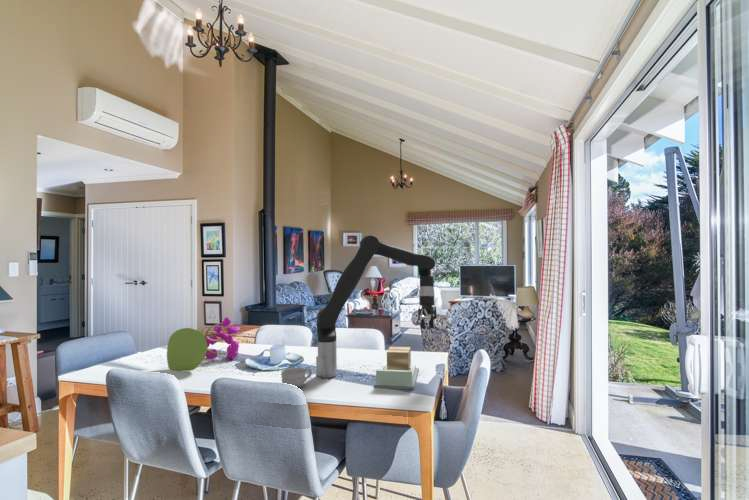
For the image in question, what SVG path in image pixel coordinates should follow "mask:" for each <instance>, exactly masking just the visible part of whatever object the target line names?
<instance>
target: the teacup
mask: <svg viewBox="0 0 749 500" xmlns="http://www.w3.org/2000/svg"><path fill="white" fill-rule="evenodd" d="M307 371H308V375H307V376H306V374H307ZM280 373H281V384H282V383H287V384H292V385H295V386H297V387H299V388H298V389H300V388H301V387H302V386H303V385H304V384H305V382H306V381H307V380H308V379H309V378H310V377H311V376H312V375H313V374H312V373H313V371H312V369H311V368H310V367H309V368H305V367H288V368H284V369H282V370H280Z"/></svg>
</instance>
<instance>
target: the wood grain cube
mask: <svg viewBox="0 0 749 500" xmlns="http://www.w3.org/2000/svg"><path fill="white" fill-rule="evenodd" d="M411 349H412V348H411V346H392V345H391V346H389V348H388V349H387V351H386V365H387V370H410V368H411V367H412V365H411V363H412V360H411V359H412V357H411V356H412V354H411V352H412V351H411Z"/></svg>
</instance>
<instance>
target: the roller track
mask: <svg viewBox="0 0 749 500" xmlns="http://www.w3.org/2000/svg"><path fill="white" fill-rule="evenodd" d="M419 370H420V367H416V364H412V365H411V367H410V370H387V364H386V366H383V367H382V369H381V368H379V369H378V368H377V369H376V370H375V373H376V374H375V379H376V380H375V383H374V384H373V388H376V389H395V390H415V388H416V387H415V386H416V384H417V379H418V375H419Z"/></svg>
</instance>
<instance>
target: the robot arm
mask: <svg viewBox="0 0 749 500" xmlns="http://www.w3.org/2000/svg"><path fill="white" fill-rule="evenodd" d="M374 255H377V256H382V257H385V258H388V259H390V260H393V261H396V262H397V263H398V262H399V263H402V264H404V265H407V266H411V267H414V266H415V267H417V271H418V276H419V292H418V294H419V295H418V297H419V302H418V303H419V304H418V305H419V306H421V308H420V307H419V308H418V309H417V320H418V321H419V322H420V329H421V330H422V329H424V330H425V329H426V319H427V318H428V328H429V329H434V321H435V320H436V319H437V306H434V305H435V289H434V288H435V286H434V282H435V281H434V276H433V275H432V270H433V269H434V268H435V266H436V260H435V259H434V258H433V257H431V256H429V255H427V254H420V253H415V252H413V251H410V250H408V249H404V248H401V247H397V246H392V245H389V244H386V243H383V242H382V241H380V239H379V238H378V237H377V236H375V235H373V234H368V235H366V236H364V237H362V238H361V240H360V241H359V248H358V250H357V252H356V253H355V256H354V257H353V258H352V260H351V261H350V262H349V263H348V265H347V266H346V267H345V268H344V270H343V272H342V273H341V274H340V276H339V278H338V280H337V282H336V284H335V287H334V289H333V292H332V295H331V297H330V299H329V301H328V302H327V304H325V307H322V308H321V309H320V310H319V311H318V312H317V314H316V332H317V333H316V335H317V336H316V337H317V356H316V357H315V359H316V360H315V361H316V362H315V365H316V366H315V371H316V375H315V376H316V377H319V378H321V379H330V378H335V377H337V376H338V371H337V370H338V367H337V366H338V365H337V362H338V361H337V360H338V358H337V351H338V350H337V330H336V323H337V321H338V318H339V317H340V314H341V312H342V310H343V308H344V306H345V304H347V301H348V300H349V298H350V297H351V295H352V294H353V292H354V291H355V289H356V287H357V286H358V283H359V282H360V281H361V278H362V276H363V274H364V272H365V271H366V267H367V266H368V264H369V263H370V261H371V259H372V258H373V257H374Z"/></svg>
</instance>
